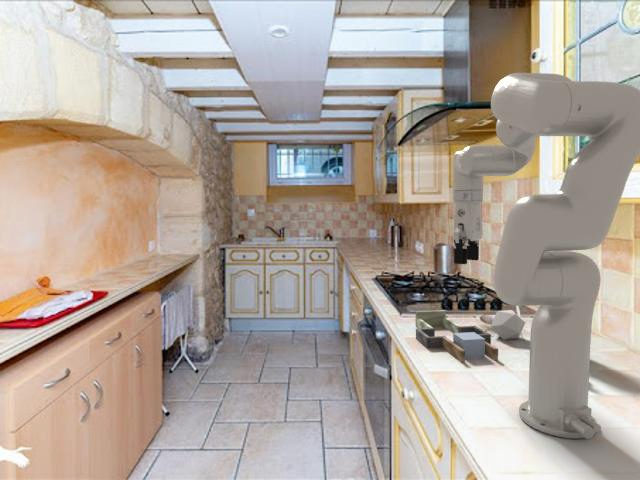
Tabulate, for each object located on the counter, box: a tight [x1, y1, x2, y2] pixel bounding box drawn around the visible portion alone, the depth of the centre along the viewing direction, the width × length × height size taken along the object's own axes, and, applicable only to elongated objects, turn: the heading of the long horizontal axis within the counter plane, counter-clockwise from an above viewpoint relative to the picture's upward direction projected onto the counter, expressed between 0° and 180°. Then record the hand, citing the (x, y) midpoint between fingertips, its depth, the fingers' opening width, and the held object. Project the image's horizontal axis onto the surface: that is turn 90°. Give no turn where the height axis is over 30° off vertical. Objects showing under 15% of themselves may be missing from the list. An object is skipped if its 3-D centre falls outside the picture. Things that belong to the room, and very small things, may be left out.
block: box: [452, 332, 486, 359], centre depth 113 cm, size 6×6×5 cm
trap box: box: [415, 309, 499, 363], centre depth 123 cm, size 33×19×5 cm, turn 7°
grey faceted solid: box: [489, 309, 526, 341], centre depth 126 cm, size 8×9×10 cm
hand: (466, 261), depth 112 cm, fingers open, 9 cm apart
